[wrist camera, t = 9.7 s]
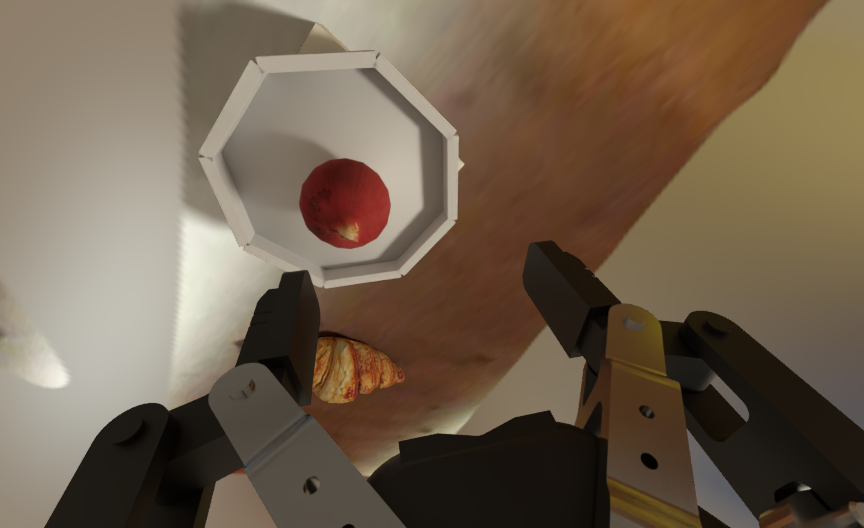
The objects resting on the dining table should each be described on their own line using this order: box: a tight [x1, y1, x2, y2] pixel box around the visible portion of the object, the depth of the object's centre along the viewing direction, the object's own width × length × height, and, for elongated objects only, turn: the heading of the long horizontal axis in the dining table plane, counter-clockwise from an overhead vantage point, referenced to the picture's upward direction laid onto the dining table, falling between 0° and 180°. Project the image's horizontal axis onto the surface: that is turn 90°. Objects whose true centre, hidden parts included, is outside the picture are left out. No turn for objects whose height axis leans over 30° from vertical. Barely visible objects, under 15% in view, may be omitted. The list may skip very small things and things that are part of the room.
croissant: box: [312, 337, 405, 403], centre depth 44 cm, size 21×10×8 cm, turn 64°
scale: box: [198, 23, 464, 288], centre depth 27 cm, size 17×17×9 cm
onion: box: [299, 158, 391, 249], centre depth 21 cm, size 6×6×8 cm
